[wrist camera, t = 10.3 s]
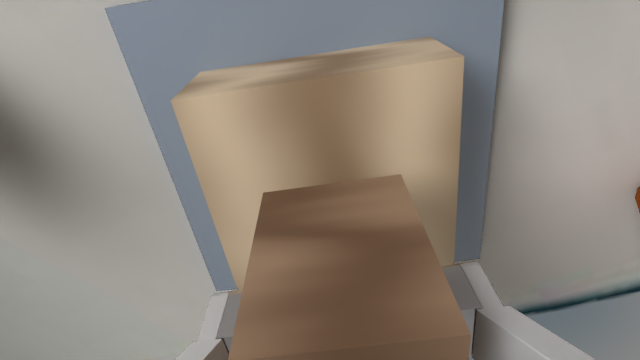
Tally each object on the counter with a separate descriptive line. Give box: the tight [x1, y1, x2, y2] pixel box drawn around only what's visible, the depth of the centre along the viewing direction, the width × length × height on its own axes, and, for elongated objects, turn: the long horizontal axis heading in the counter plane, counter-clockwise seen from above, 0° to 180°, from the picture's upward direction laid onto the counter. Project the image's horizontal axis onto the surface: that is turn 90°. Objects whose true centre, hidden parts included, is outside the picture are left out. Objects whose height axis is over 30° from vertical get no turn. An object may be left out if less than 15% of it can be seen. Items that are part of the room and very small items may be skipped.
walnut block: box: [228, 174, 471, 360], centre depth 11 cm, size 4×4×6 cm
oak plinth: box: [171, 37, 464, 290], centre depth 17 cm, size 10×10×5 cm
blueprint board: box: [105, 0, 504, 291], centre depth 19 cm, size 16×16×1 cm
